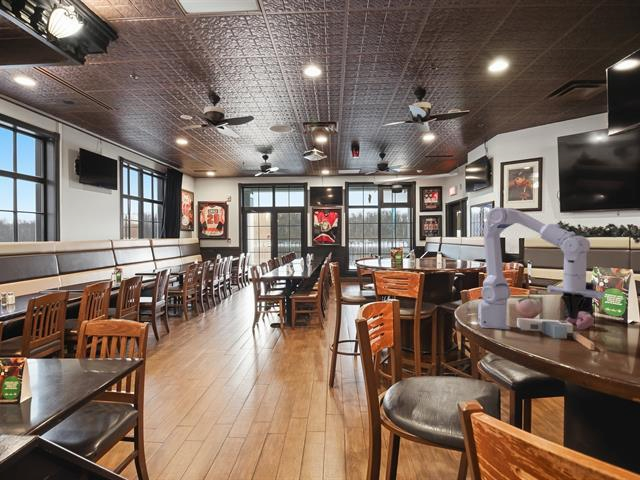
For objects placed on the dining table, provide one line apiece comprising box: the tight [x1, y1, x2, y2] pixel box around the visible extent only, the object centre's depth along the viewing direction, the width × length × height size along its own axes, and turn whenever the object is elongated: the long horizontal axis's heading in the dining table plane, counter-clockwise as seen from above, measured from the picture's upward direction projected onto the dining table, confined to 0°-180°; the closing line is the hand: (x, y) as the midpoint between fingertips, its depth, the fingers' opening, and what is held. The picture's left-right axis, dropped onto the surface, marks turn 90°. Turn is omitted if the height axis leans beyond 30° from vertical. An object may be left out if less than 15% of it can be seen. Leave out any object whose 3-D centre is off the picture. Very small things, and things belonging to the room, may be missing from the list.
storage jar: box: [563, 281, 595, 320], centre depth 144 cm, size 10×10×15 cm
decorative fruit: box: [515, 294, 543, 319], centre depth 143 cm, size 9×8×10 cm
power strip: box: [516, 317, 574, 334], centre depth 128 cm, size 16×6×3 cm, turn 76°
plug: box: [541, 321, 568, 339], centre depth 121 cm, size 5×7×4 cm
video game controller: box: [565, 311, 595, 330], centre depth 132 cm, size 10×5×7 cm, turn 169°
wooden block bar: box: [572, 330, 595, 351], centre depth 111 cm, size 12×2×2 cm, turn 164°
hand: (573, 318), depth 111 cm, fingers closed
